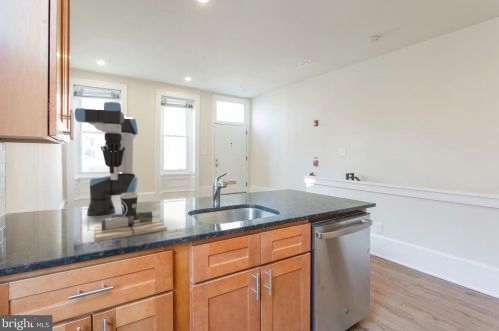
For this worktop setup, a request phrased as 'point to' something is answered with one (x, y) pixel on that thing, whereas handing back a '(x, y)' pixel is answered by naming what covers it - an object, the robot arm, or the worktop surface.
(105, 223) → the lock bar
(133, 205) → the coffee cup
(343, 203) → the worktop surface
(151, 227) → the wooden pallet
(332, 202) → the worktop surface
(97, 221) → the worktop surface
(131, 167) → the robot arm
